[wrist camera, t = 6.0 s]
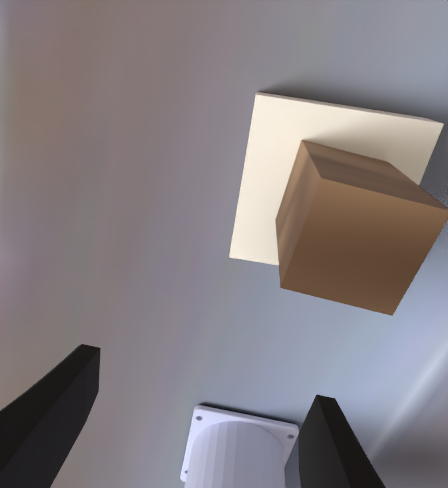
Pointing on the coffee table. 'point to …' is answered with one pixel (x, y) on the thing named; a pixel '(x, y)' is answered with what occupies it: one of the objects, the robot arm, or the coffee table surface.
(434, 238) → the walnut block
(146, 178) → the coffee table surface
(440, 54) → the coffee table surface
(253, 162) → the cream slab
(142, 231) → the coffee table surface
